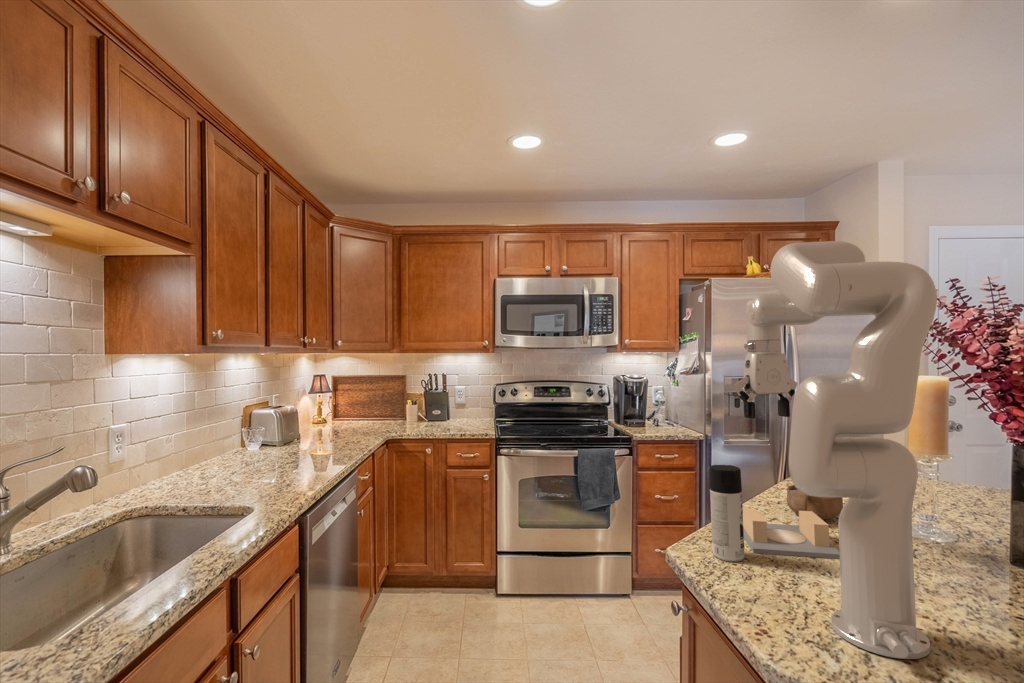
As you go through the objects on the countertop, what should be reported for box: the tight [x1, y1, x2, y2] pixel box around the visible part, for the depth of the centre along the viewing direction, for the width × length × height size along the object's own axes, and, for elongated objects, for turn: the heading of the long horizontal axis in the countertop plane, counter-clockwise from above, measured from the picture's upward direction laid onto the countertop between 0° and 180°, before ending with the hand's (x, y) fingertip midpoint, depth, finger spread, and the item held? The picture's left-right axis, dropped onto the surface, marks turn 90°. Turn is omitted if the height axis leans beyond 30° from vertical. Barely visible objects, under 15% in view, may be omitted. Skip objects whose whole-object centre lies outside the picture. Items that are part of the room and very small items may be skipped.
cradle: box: [743, 507, 840, 560], centre depth 116 cm, size 18×18×6 cm
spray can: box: [709, 464, 745, 563], centre depth 108 cm, size 7×7×20 cm
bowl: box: [786, 484, 844, 520], centre depth 131 cm, size 18×14×10 cm
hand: (767, 417), depth 118 cm, fingers open, 9 cm apart
